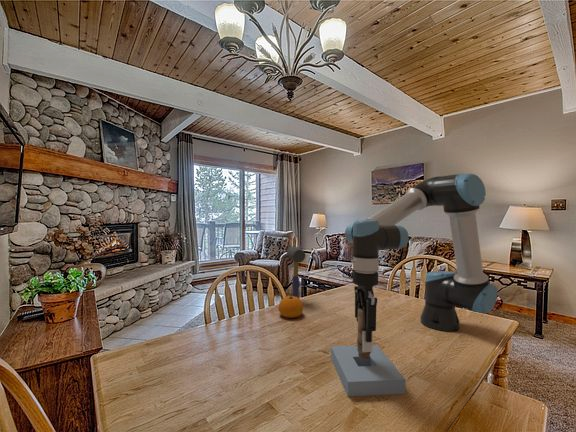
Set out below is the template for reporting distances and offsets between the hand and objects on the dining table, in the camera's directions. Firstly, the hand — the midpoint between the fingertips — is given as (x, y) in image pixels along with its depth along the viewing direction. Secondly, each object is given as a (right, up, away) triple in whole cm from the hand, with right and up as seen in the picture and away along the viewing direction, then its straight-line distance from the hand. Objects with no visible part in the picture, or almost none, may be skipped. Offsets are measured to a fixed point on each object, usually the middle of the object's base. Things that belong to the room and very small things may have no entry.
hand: (364, 347), depth 88 cm
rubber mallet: (-19, -7, +66) cm, 69 cm away
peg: (0, -3, 0) cm, 3 cm away
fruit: (-22, -7, +49) cm, 54 cm away
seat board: (0, -8, 0) cm, 8 cm away
